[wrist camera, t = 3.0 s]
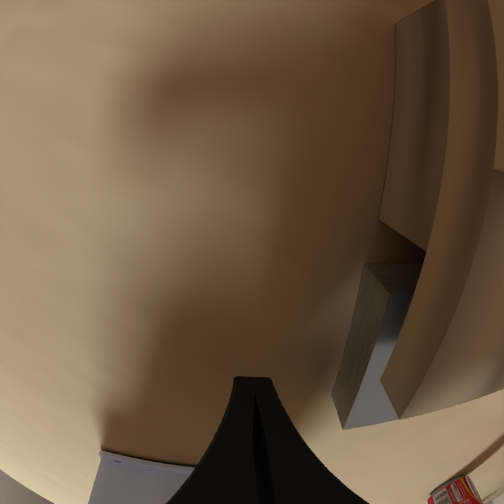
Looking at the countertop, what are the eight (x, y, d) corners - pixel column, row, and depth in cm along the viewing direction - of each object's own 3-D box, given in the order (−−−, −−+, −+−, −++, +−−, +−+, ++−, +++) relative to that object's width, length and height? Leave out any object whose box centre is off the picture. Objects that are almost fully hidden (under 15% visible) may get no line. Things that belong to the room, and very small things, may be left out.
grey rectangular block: (330, 390, 13) (342, 429, 11) (360, 260, 11) (389, 293, 8) (412, 377, 14) (432, 410, 11) (455, 260, 11) (490, 286, 9)
